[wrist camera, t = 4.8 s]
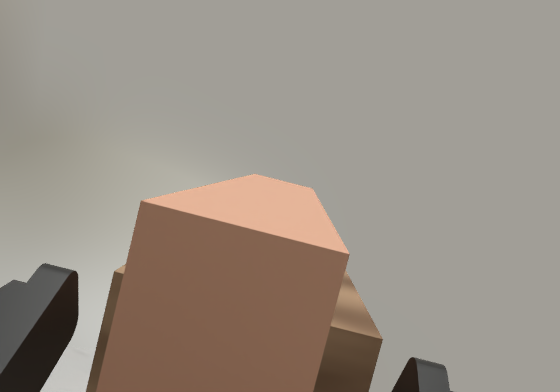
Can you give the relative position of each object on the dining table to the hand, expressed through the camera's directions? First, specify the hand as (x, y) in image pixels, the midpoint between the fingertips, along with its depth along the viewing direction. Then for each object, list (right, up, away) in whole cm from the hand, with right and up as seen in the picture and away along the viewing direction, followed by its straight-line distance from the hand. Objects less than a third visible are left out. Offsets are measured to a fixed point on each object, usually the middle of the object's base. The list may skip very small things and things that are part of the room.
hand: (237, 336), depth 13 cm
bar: (0, 0, +11) cm, 11 cm away
